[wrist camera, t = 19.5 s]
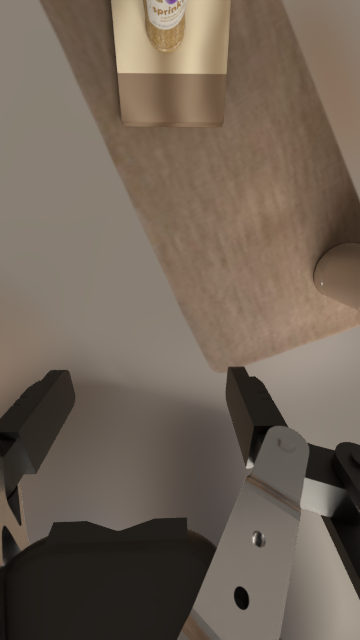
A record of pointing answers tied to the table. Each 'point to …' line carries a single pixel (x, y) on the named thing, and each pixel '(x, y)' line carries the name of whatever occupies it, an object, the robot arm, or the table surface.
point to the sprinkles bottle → (165, 23)
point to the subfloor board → (172, 67)
